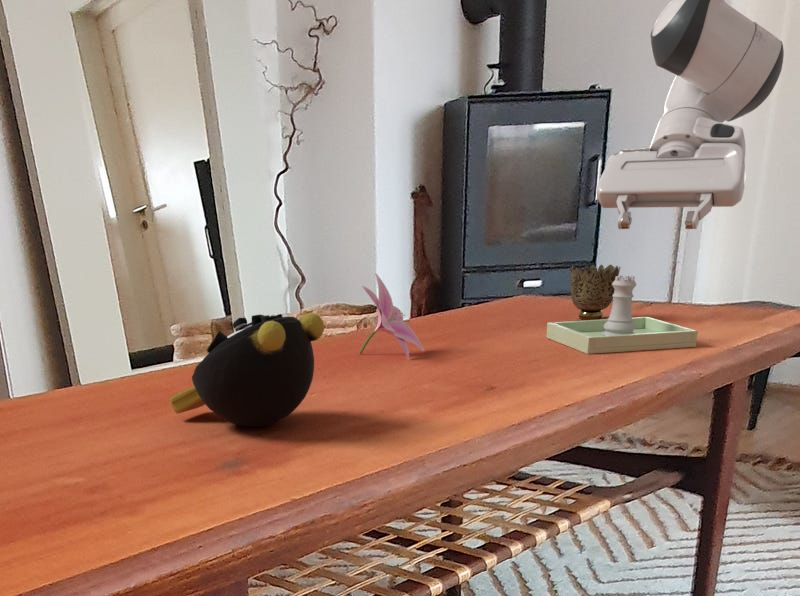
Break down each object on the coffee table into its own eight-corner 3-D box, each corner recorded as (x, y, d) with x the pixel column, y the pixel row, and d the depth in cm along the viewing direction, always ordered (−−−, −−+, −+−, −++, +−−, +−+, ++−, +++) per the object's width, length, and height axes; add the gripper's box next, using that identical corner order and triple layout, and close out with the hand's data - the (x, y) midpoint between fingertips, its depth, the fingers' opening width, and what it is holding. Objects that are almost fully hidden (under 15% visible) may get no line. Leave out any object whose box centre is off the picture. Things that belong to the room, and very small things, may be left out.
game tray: (646, 331, 142) (647, 316, 141) (695, 347, 130) (698, 330, 129) (546, 337, 139) (547, 322, 138) (587, 354, 127) (588, 337, 126)
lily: (370, 374, 124) (408, 306, 120) (313, 329, 129) (348, 262, 125) (421, 388, 133) (458, 325, 129) (366, 345, 139) (400, 283, 134)
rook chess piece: (595, 338, 134) (601, 277, 131) (611, 334, 137) (617, 274, 134) (625, 341, 132) (632, 279, 128) (640, 336, 134) (648, 275, 131)
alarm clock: (263, 439, 107) (318, 308, 102) (288, 480, 95) (351, 334, 89) (163, 400, 103) (214, 262, 98) (174, 438, 90) (234, 282, 85)
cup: (563, 316, 156) (567, 264, 153) (610, 316, 156) (615, 263, 152) (569, 324, 150) (573, 269, 146) (618, 323, 149) (623, 268, 145)
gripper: (607, 134, 143) (580, 210, 140) (755, 127, 133) (729, 209, 130) (613, 167, 148) (588, 241, 145) (756, 162, 138) (731, 242, 135)
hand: (656, 226), depth 138 cm, fingers open, 8 cm apart
